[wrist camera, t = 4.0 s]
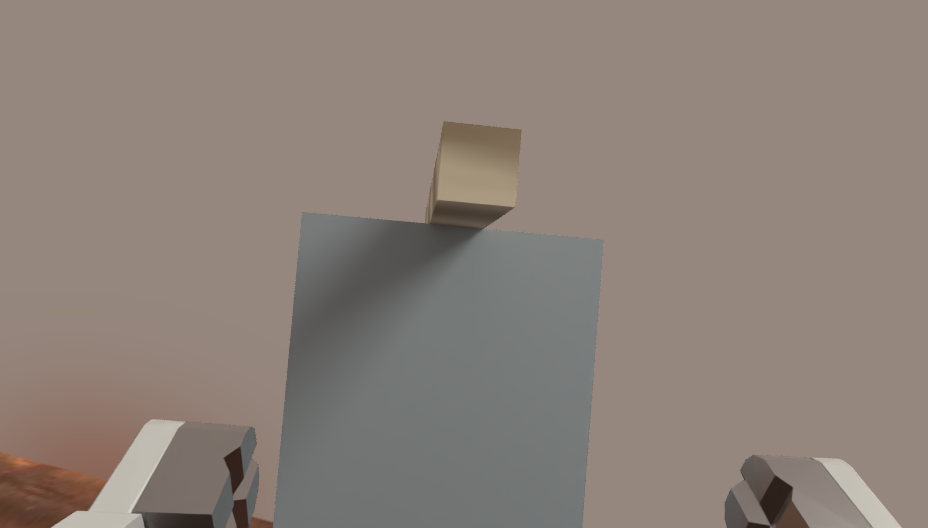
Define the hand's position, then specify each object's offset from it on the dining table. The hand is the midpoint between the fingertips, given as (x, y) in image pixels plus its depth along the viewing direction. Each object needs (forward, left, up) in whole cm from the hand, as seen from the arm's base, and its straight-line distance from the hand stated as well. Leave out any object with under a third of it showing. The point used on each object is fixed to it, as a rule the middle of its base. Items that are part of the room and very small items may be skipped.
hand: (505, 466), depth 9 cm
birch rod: (-14, +14, +5) cm, 21 cm away
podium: (-16, +16, -21) cm, 30 cm away
